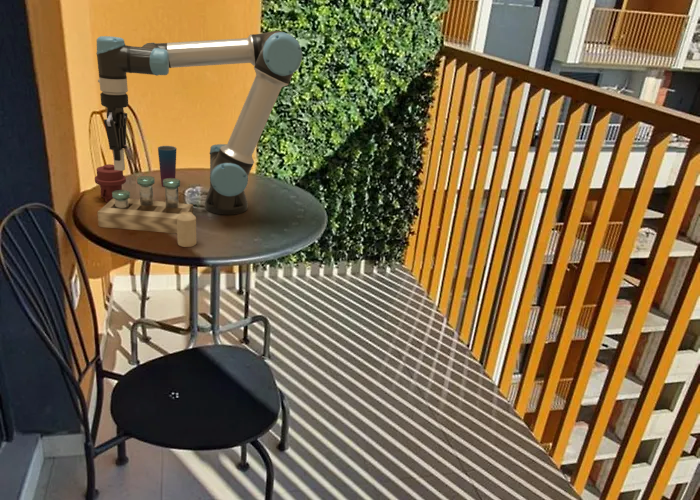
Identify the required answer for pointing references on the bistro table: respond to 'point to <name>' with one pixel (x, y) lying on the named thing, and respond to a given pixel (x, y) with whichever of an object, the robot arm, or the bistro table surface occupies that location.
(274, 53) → the robot arm
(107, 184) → the mechanical component
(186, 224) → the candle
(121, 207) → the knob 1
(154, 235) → the bistro table surface
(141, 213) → the birch block
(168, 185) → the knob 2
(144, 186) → the green lidded glass jar
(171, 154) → the cup
